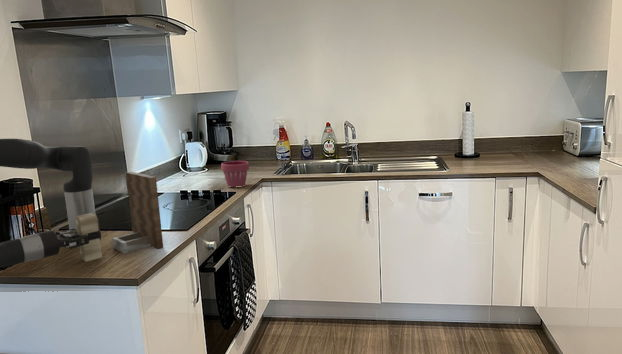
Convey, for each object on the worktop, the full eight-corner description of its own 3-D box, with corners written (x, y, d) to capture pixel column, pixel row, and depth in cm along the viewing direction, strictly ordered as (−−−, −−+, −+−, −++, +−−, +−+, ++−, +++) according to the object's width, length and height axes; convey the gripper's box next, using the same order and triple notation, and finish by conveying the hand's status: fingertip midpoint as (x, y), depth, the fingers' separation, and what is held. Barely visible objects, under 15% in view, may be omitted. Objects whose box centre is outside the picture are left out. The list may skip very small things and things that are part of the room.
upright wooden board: (107, 245, 164) (98, 176, 159) (138, 237, 172) (131, 171, 167) (130, 256, 151) (122, 182, 147) (163, 247, 159) (155, 176, 154)
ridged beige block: (81, 259, 151) (75, 216, 149) (99, 254, 155) (93, 212, 152) (85, 262, 148) (79, 218, 146) (103, 257, 152) (98, 214, 150)
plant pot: (254, 184, 256) (253, 160, 254) (242, 189, 244) (240, 165, 241) (231, 183, 261) (229, 160, 259) (217, 188, 249) (215, 164, 246)
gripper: (44, 238, 134) (104, 224, 146) (29, 229, 144) (86, 217, 156) (48, 263, 136) (107, 248, 147) (32, 253, 146) (89, 239, 157)
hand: (96, 232), depth 152 cm, fingers open, 5 cm apart
